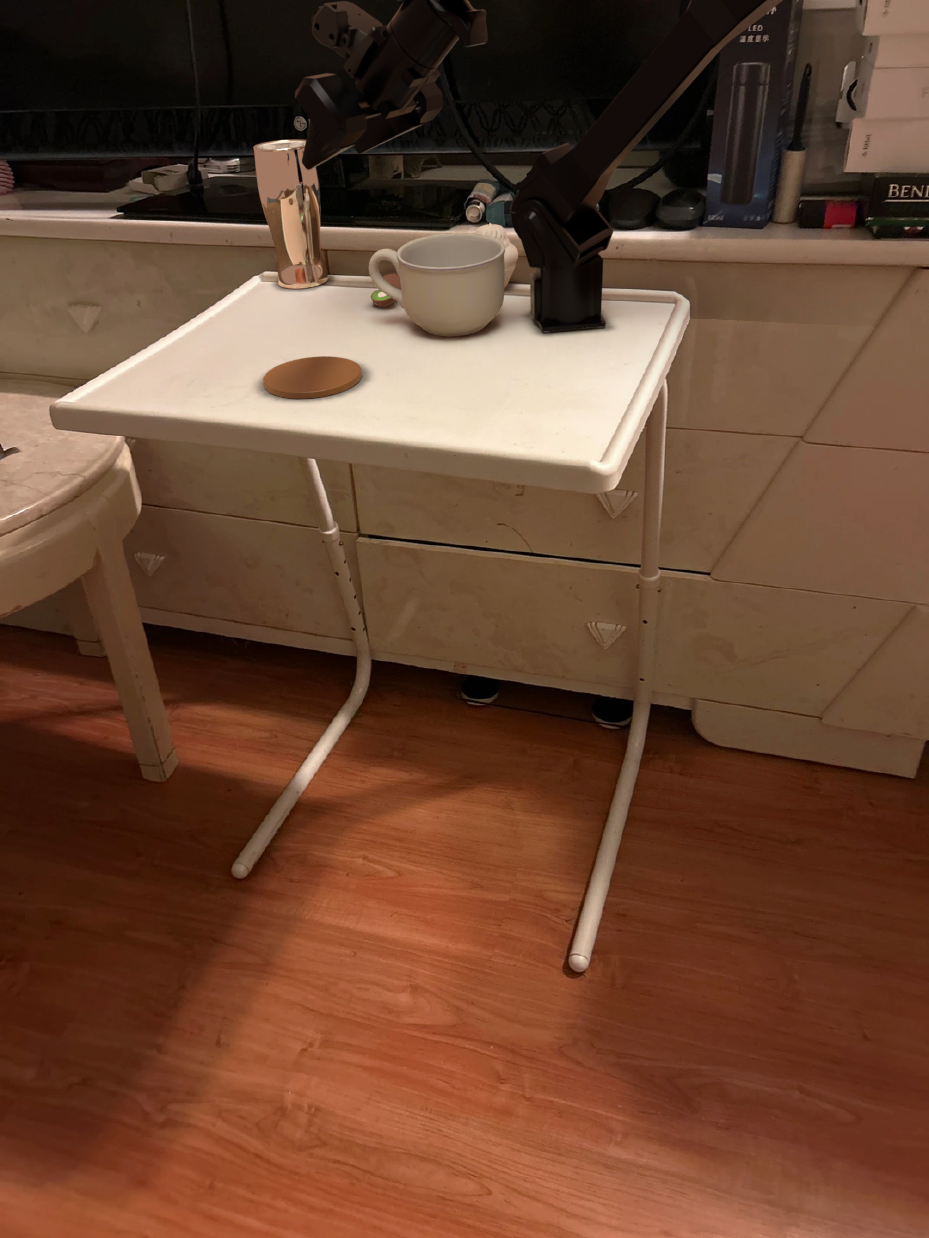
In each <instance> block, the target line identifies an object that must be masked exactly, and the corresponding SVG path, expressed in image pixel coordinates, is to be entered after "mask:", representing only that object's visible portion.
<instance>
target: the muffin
mask: <svg viewBox="0 0 929 1238" xmlns="http://www.w3.org/2000/svg"><path fill="white" fill-rule="evenodd" d="M474 234H479V235H486V236H490V237H493V238H495V239H498V240H500V241H501V242H502V243H503V244H504V246H505V253H504V289H506V288H507V286H508V284H509V282H510V280H511V277H512V275H513V273H514V270H515V269H516V267H517V264H516V263H517V261H518V259H519V251H518V249H517V247H516V246H515V245H514V244H513V243H511V240H510V238H509V237H508V236H507V231H506V229H505V228H504V227H503V225H500V224H494V223H492V222H489V224H488V223H487V224H483V225H481V226H479V227H477V229H476V230H475V232H474Z"/></svg>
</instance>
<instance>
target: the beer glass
mask: <svg viewBox="0 0 929 1238" xmlns="http://www.w3.org/2000/svg"><path fill="white" fill-rule="evenodd" d="M305 143H306V139H279V140H272V141H267V142H261V143H258V144H255V145H254V146H253V147H252V148H253V153H254V166H255V176H256V183H257V189H258V194H259V199H260V203H261V207H262V209H263V213H264V217H265V219H266V223H267V225H268V228H269V232H270V234H271V235H270V236H271V238H272V240H273V244H274V248H275V252H276V260H277V284H278V285H279V286H280V287H282V288H285V289H292V290H295V289H296V290H297V289H298V290H299V289H301V290H302V289H308V288H314V287H317V286H321V285H323V284H325V283H327V282H328V281H329V274H328V271H327V268H326V265H325V262H324V258H323V254H322V248H321V247H322V246H321V215H322V214H321V208H322V207H321V206H322V205H321V202H322V201H321V189H320V187H321V186H320V179H319V174H318V166H316V167H314V168H312V169H310V170H307V169H306V168H305V166H304V165H303V164H302V157H303V152H304V148H305Z"/></svg>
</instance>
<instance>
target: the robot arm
mask: <svg viewBox="0 0 929 1238" xmlns="http://www.w3.org/2000/svg"><path fill="white" fill-rule="evenodd" d="M396 1H400V0H396ZM782 1H783V0H690V1H689V3H688V6H687V7H686V9H685V10H684V12H683V14H682V16H681V17H680V18H679V19H678V20H677V22H676V23H674V26H672V28H671V29H670V30H669V31H668V32H667V34H665V36H664V37H663V38H662V40H661V41H660V42H659V43H658V44H657V46H656V47H655V48H654V49H653V51H652V52H651V53H650V54H649V55H648V56H647V58H646V59H645V60H644V62H642V64H641V66H639V68H638V69H637V70H636V72H635V73H633V75H632V76H631V77H630V79H629V80H628V81H627V83H626V84H625V85H624V86H623V87H622V89H621V90H620V91H619V92H618V93H617V94H616V96H615V97H614V98H613V99H612V101H610V103H609V104H608V106H607V107H606V108H605V109H604V110H603V111H602V113H601V114H600V115H599V117H598V118H597V119H596V120H595V121H594V123H592V125H591V126H590V127H589V129H588V130H587V131H586V132H585V133H584V135H583V136H582V137H581V138H580V140H578V142H577V143H576V144H575V145H574V146H573V147H572V146H571V145H570V143H569V142H566V143H563V144H561V145H559V146H556V147H554V148H552V149H548V150H546V151H543V152H542V153H540V154H539V155H538V157H537V158H536V160H535V161H534V163H533V165H532V167H531V169H530V170H529V172H528V173H527V175H526V176H525V177H524V178H523V179H522V180H521V181H519V182H517V183H514V185H513V188H514V189H515V190H516V191H518V192H516V193H515V195H514V196H513V199H512V201H511V204H510V207H509V212H510V219H511V220H510V221H511V224H512V227H513V230H514V233H516V235H517V237H518V238H519V240H520V241H521V245H522V247H523V252H524V254H525V256H526V260H527V263H528V266H529V268H532V269H535V272H531V273H530V275H529V287H530V288H529V300H530V301H529V303H530V304H529V305H530V307H529V308H530V311H529V312H530V314H531V315H530V316H532V318H533V320H534V321H535V322H536V323H537V325H538V326H539V328H540V330H541V332H544V333H549V332H550V333H551V332H558V331H559V332H561V331H571V330H581V329H593V328H595V329H596V328H603V327H606V322H607V320H606V319H605V318H604V317H603V315H602V305H603V304H602V303H603V282H604V281H603V280H604V279H603V278H604V277H603V276H604V259H603V257H602V256H601V255H600V253H601V252H603V251H606V250H607V249H608V248H609V245H610V243H611V242H610V241H611V239H612V237H613V234H614V228H613V227H612V226H611V225H610V223H609V222H608V221H607V220H606V218H605V217H604V216H603V214H602V213H601V212H600V211H599V209H598V208H597V206H598V204H599V202H600V201H601V200H602V198H603V195H604V193H605V191H606V189H607V187H608V184H609V181H610V179H611V176H612V175H613V174H614V172H615V170H616V169H617V168H618V167H619V165H620V164H622V162H623V161H624V160H625V159H626V158H627V156H629V154H631V152H632V151H633V150H634V148H636V146H637V145H639V143H640V142H641V141H642V140H643V138H644V137H645V136H646V135H647V134H648V132H649V131H651V130H652V128H653V127H654V126H655V125H656V124H657V123H658V121H659V120H660V119H661V118H662V117H663V116H664V115H665V113H667V111H668V110H670V108H671V107H672V105H673V104H674V103H675V102H676V101H677V100H678V99H679V98H680V97H681V95H682V94H683V93H684V92H685V91H686V90H687V88H688V87H689V86H690V85H691V84H692V83H693V82H694V81H695V79H696V78H697V77H698V76H699V75H700V74H701V73H702V72H703V71H704V69H705V68H706V67H707V66H708V65H709V64H710V63H711V62H712V60H713V59H714V58H715V57H716V56H717V55H718V54H719V52H720V51H721V50H722V49H723V48H724V47H725V46H726V45H727V44H728V43H729V42H731V41H732V40H734V39H736V37H737V36H739V35H740V34H741V33H743V32H744V31H745V30H747V29H748V28H749V27H751V26H752V25H754V24H755V23H756V22H758V21H759V20H760V19H762V18H763V17H764V16H765V15H767V14H769V12H770V11H772V10H773V9H774V8H776V7H777V6H778V5H779V4H780V3H781V2H782ZM486 20H487V11H486V9H476V8H474V7H473V6H472V4H471V3H470V1H469V0H404V1H403V2H402V3H401V5H400V6H399V8H398V10H397V11H396V12H395V14H394V15H393V17H392V18H391V20H390V21H389V23H388V24H387V25H383V23H382V22H381V21H379V20H378V19H377V18H375V17H373V16H372V15H370V14H369V13H368V12H367V11H365V9H362V8H361V7H359V6H358V5H356V4H355V3H353V2H350V1H347V0H342V1H341V0H340V1H333V2H325V3H324V4H323V5H320V6H318V8H317V12H316V14H314V15H312V16H311V24H312V27H311V32H312V35H313V37H314V38H315V39H316V41H317V42H318V43H319V44H320V45H322V46H325V47H327V48H328V49H331V50H332V51H334V52H335V53H336V54H338V55H339V56H340V57H342V58H344V59H345V60H346V62H345V64H344V65H343V68H344V70H345V71H346V73H347V74H348V75H349V77H350V78H354V79H355V83H354V84H355V87H356V89H357V90H356V91H352V92H351V91H350V90H349V89H348V87H347V86H346V84H345V83H344V82H343V80H342V79H341V77H340V76H339V75H338V74H337V73H321V74H315V75H310V76H305V77H304V78H303V79H302V80H301V82H300V84H299V86H298V87H297V88H296V90H295V91H294V99H295V100H296V102H297V103H298V105H300V107H301V108H302V110H303V111H304V112H305V114H306V115H307V116H308V118H309V119H308V120H309V123H308V129H307V135H306V136H307V137H306V139H305V140H306V143H305V148H304V152H303V157H302V164H303V165H304V166H305V168H306V169H307V170H310V169H312V168H314V167H318V166H320V165H321V164H324V163H325V162H327V161H329V160H330V159H332V158H335V157H336V156H338V155H339V154H341V153H343V152H345V151H347V150H349V149H350V148H352V147H353V148H354V150H355V151H356V153H357V154H358V155H362V154H364V153H366V152H368V151H370V150H372V149H374V148H377V147H378V146H380V145H382V144H384V143H387V142H389V141H391V140H393V139H395V138H397V137H400V136H402V135H404V134H406V133H408V132H410V131H412V130H415V129H416V128H419V127H421V126H423V125H424V124H425V123H427V122H430V121H433V120H435V118H436V117H437V115H438V114H439V113H440V111H442V109H443V108H444V95H443V94H444V93H443V92H442V91H441V89H440V88H439V86H438V84H437V83H436V81H437V80H438V78H439V77H440V76H441V72H440V71H439V69H438V67H439V65H440V64H441V63H442V62H443V60H444V59H445V58H446V57H447V55H448V54H449V52H450V51H451V50H452V49H453V47H454V46H455V45H456V43H457V42H458V41H459V40H460V41H461V43H462V45H463V46H464V47H466V48H470V47H475V46H479V45H485V44H486V43H487V42H488V40H489V37H488V28H487V22H486ZM420 108H421V109H420ZM419 109H420V110H419Z"/></svg>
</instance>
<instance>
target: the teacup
mask: <svg viewBox="0 0 929 1238" xmlns="http://www.w3.org/2000/svg"><path fill="white" fill-rule="evenodd" d="M504 253H505V246H504V244H503V243H502V242H501V241H500V240H498V239H495V238H493V237H490V236H486V235H479V234H475V232H474V233H473V232H472V233H470V232H450V233H437V234H431V235H426V236H422V237H418V238H416V239H413V240H410V241H408V242H406V243H405V244H403V245H401V247H399V248H398V250H397V251H396V250H394V249H392V248H381V249H379V250H377V251H375V252H374V253H373V255H372V256H371V257H370V260H369V263H368V274H369V277H370V280H371V282H372V283H373V285H374V286H375V287H376V288H377V290H378V289H379V290H380V291H382V292H383V293H385V294H386V295H388V296H390V297H391V298H393V299H395V301H396V302H397V303H398V305H399V307H401V308H402V309H404V310H405V312H406V315H407V316H408V318H409V320H411V321H412V322H413V323H414V324H416V325H417V326H419V327H420V328H421V329H422V330H424V331H425V332H427V333H429V334H431V335H435V336H439V337H461V336H468V335H472V334H475V333H477V332H479V331H482V330H483V329H485V328H486V327H487V326H488V325H489V323H490V322H492V320H494V319H495V318H496V317H497V316H498V314H499V313H500V312H501V309H502V307H503V304H504V298H505V288H504ZM382 261H389V262H390V263H391V264H392V265H393V267H394V268H395V271H396V275H398V276H400V283H401V290H399V289H397V288H395V287H394V286H392V285H390V284H389V283H388V282H387V281H386V280H385V279H384V278H383V276H382V274H381V272H380V263H381V262H382Z"/></svg>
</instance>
